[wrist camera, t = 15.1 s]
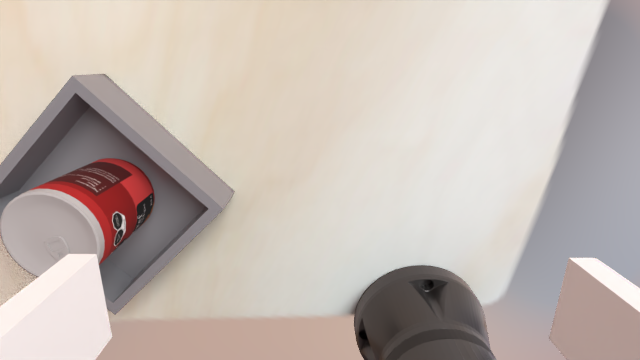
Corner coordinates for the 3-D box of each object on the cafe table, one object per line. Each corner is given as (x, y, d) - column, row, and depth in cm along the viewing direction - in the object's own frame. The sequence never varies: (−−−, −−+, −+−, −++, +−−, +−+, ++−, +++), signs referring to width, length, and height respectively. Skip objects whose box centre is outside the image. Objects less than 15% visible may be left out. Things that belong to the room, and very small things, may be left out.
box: (234, 191, 40) (223, 209, 35) (137, 286, 43) (115, 314, 38) (104, 73, 36) (72, 75, 31) (9, 188, 39) (-34, 206, 35)
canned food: (119, 238, 41) (51, 299, 30) (67, 180, 39) (-26, 224, 28) (173, 203, 40) (121, 254, 29) (122, 141, 38) (48, 172, 27)
